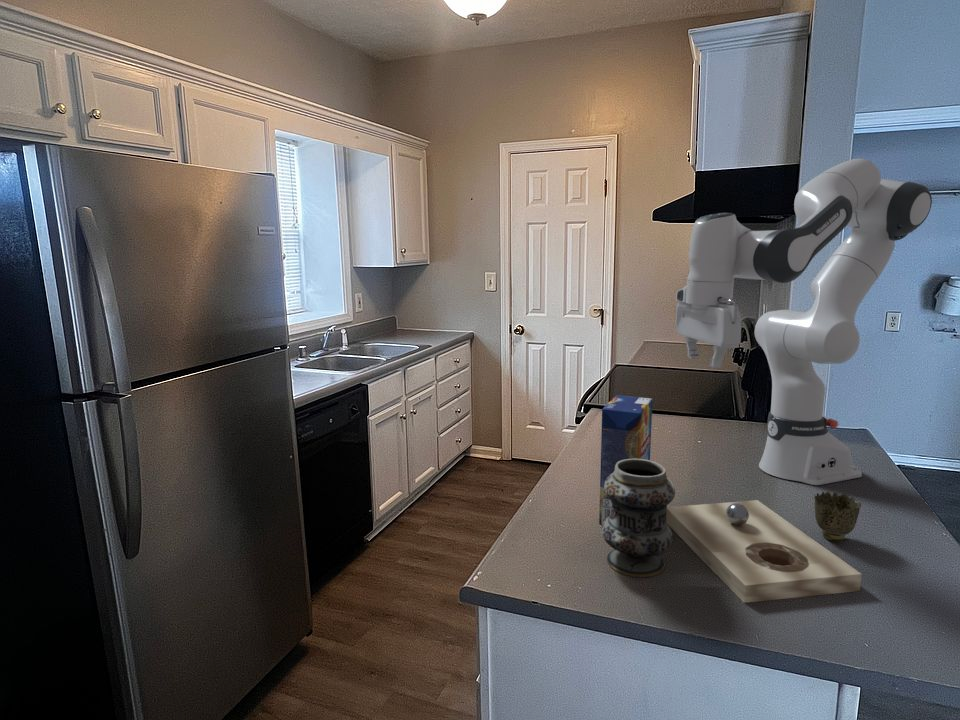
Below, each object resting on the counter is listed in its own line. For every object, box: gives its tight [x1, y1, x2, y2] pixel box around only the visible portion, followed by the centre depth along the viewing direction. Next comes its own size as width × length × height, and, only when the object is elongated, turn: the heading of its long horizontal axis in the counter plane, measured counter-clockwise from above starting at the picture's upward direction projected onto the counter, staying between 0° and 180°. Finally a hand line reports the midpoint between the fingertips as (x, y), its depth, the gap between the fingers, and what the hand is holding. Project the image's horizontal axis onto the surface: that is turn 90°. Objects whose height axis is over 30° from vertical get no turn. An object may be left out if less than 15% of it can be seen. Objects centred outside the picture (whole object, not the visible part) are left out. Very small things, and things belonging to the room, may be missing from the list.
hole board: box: [666, 499, 863, 604], centre depth 106 cm, size 20×28×3 cm
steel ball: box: [726, 503, 749, 525], centre depth 110 cm, size 4×4×4 cm
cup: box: [813, 491, 862, 543], centre depth 110 cm, size 8×7×8 cm
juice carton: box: [598, 394, 654, 525], centre depth 120 cm, size 12×8×24 cm, turn 154°
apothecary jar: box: [601, 459, 676, 578], centre depth 102 cm, size 12×12×18 cm
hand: (703, 362), depth 121 cm, fingers open, 8 cm apart
